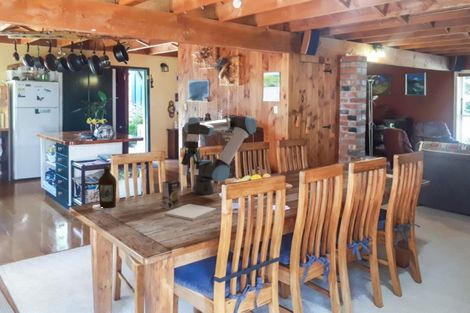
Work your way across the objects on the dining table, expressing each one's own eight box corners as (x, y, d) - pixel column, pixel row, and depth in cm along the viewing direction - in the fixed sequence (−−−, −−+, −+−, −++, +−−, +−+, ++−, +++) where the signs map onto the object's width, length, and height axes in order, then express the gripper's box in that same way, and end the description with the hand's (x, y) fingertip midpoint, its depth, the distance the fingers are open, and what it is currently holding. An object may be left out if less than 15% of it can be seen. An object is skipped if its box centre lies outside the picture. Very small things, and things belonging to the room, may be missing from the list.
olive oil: (100, 204, 265) (99, 165, 261) (118, 204, 266) (117, 164, 262) (97, 209, 254) (96, 168, 251) (115, 208, 256) (114, 168, 252)
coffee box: (169, 209, 256) (169, 183, 254) (162, 207, 260) (161, 182, 258) (180, 206, 263) (180, 181, 261) (172, 204, 267) (172, 179, 265)
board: (188, 205, 266) (188, 203, 266) (216, 210, 257) (216, 208, 256) (164, 214, 245) (164, 212, 245) (193, 220, 236) (193, 218, 236)
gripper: (177, 142, 278) (175, 174, 275) (198, 139, 258) (195, 173, 255) (187, 144, 282) (185, 175, 280) (208, 140, 262) (206, 175, 260)
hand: (190, 175), depth 267 cm, fingers open, 13 cm apart
